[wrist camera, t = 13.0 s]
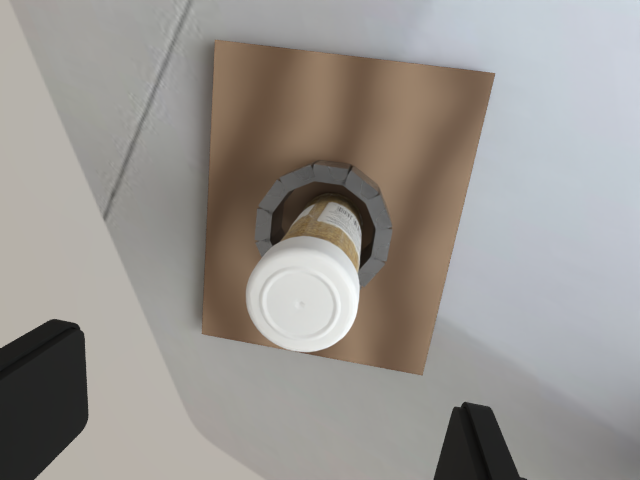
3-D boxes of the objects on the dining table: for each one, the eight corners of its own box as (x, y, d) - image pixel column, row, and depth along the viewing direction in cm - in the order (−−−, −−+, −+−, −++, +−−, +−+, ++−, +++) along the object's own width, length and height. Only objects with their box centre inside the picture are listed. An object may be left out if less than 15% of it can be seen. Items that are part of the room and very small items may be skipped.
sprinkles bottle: (292, 203, 28) (224, 268, 15) (352, 183, 27) (335, 233, 14) (314, 261, 29) (267, 368, 16) (373, 243, 28) (373, 341, 15)
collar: (398, 170, 26) (402, 177, 23) (377, 286, 29) (377, 307, 25) (275, 153, 27) (261, 156, 24) (264, 267, 29) (250, 285, 26)
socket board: (488, 76, 25) (495, 73, 24) (420, 364, 32) (422, 375, 30) (223, 44, 27) (214, 39, 25) (209, 325, 33) (201, 334, 32)
